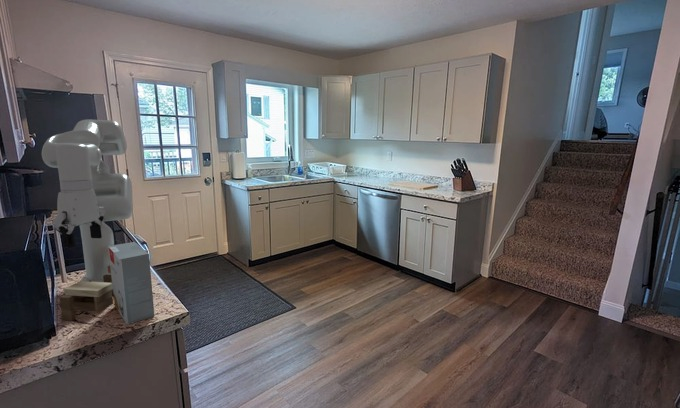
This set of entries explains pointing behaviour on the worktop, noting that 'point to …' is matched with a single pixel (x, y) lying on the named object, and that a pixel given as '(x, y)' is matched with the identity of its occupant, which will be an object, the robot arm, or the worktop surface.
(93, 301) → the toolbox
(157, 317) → the worktop surface
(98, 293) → the lid
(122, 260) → the hard drive box
